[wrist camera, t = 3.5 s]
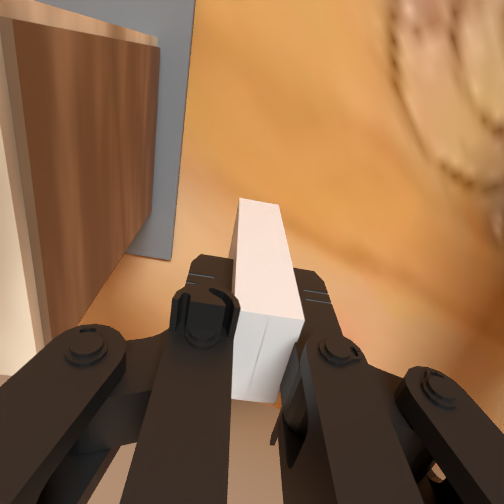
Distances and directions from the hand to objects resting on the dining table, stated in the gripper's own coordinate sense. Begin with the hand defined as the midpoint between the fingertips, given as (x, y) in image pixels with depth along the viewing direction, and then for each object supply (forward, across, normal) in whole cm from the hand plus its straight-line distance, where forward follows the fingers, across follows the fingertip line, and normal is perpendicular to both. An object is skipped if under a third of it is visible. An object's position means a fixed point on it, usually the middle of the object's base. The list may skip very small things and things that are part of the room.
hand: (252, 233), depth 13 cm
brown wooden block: (+13, -9, 0) cm, 16 cm away
